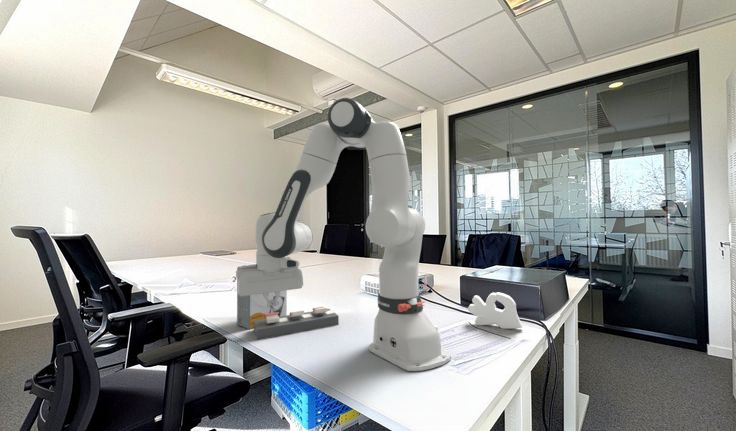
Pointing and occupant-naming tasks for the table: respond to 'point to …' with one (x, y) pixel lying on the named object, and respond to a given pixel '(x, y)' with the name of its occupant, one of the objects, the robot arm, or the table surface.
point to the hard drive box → (258, 307)
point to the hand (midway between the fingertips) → (272, 305)
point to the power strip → (295, 324)
